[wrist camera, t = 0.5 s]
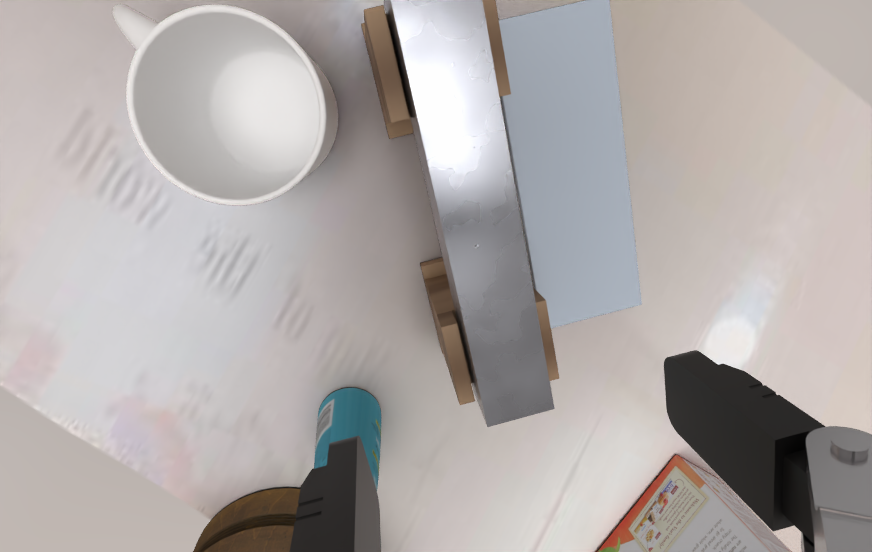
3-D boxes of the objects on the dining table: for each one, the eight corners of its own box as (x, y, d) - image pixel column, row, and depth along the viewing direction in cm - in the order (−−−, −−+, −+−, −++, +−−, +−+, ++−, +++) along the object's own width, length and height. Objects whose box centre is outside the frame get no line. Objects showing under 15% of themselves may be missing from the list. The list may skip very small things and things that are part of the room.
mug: (207, -32, 30) (124, -112, 20) (366, 108, 33) (364, 100, 23) (126, 84, 31) (8, 64, 21) (287, 207, 35) (252, 242, 24)
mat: (487, 24, 33) (489, 22, 32) (604, -3, 33) (608, -6, 33) (541, 327, 40) (543, 330, 39) (637, 301, 40) (641, 304, 39)
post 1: (361, 26, 32) (357, -15, 22) (453, 5, 32) (487, -44, 23) (389, 138, 34) (396, 143, 25) (474, 117, 34) (514, 115, 25)
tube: (381, 452, 41) (389, 715, 23) (320, 455, 40) (278, 728, 22) (381, 369, 39) (390, 585, 21) (316, 371, 38) (267, 595, 20)
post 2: (419, 263, 37) (437, 310, 27) (498, 242, 37) (543, 283, 28) (440, 347, 39) (463, 419, 30) (515, 328, 39) (561, 393, 30)
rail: (383, 2, 25) (386, -21, 21) (459, -15, 25) (475, -40, 21) (473, 390, 31) (487, 426, 28) (532, 374, 32) (554, 408, 28)
